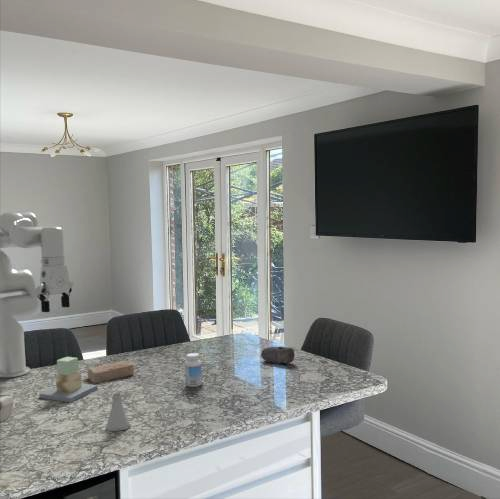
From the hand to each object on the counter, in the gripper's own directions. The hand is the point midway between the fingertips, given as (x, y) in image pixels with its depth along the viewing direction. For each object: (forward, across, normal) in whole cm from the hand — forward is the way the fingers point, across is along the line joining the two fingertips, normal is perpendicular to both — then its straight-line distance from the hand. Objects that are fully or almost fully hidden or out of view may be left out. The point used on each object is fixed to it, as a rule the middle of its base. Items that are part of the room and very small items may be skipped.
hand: (55, 309), depth 191 cm
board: (+30, 0, -4) cm, 30 cm away
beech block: (+29, 0, -4) cm, 29 cm away
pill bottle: (+30, +23, -42) cm, 57 cm away
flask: (+30, -19, -40) cm, 54 cm away
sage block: (+23, 0, -4) cm, 23 cm away
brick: (+31, +22, -6) cm, 38 cm away
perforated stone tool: (+30, +59, -61) cm, 90 cm away
